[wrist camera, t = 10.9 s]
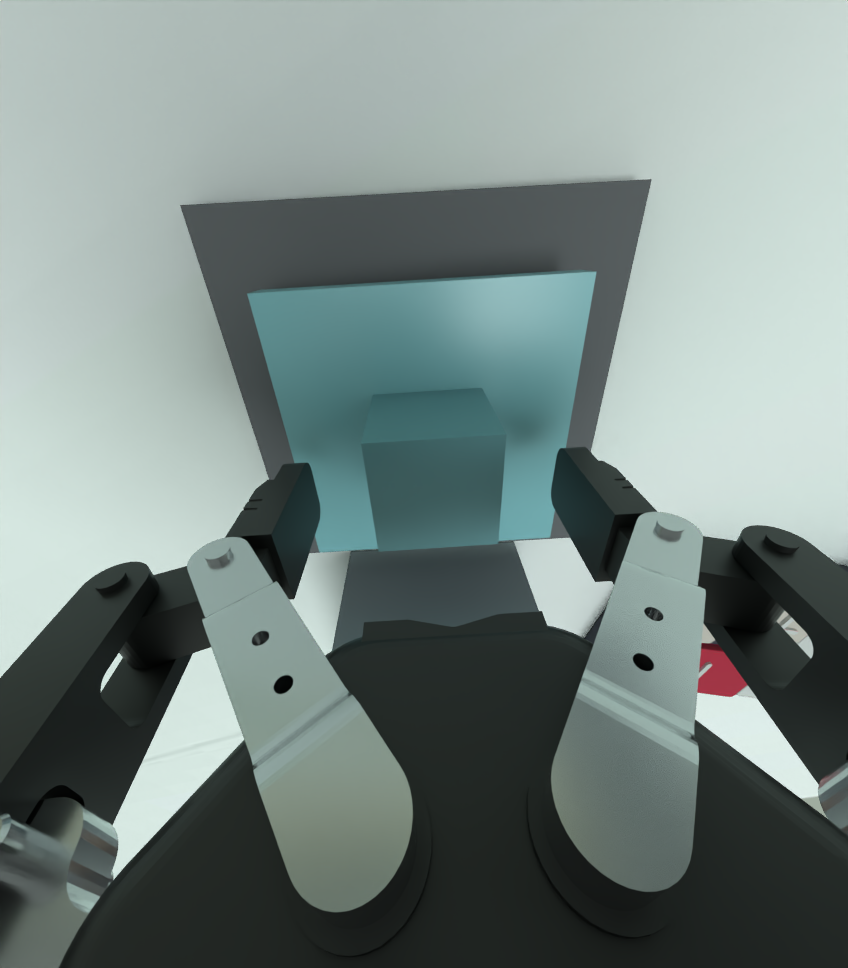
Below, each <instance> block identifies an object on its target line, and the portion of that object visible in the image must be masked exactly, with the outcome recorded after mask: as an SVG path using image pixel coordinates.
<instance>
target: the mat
mask: <svg viewBox="0 0 848 968" xmlns="http://www.w3.org/2000/svg"><path fill="white" fill-rule="evenodd" d="M650 184H651V179H648V180H630V181H611V182H593V183H575V184H557V185H539V186H521V187H503V188H485V189H467V190H449V191H431V192H413V193H395V194H376V195H358V196H340V197H322V198H304V199H286V200H268V201H250V202H232V203H214V204H196V205H180V206H181V209H182V212H183V215H184V218H185V221H186V224H187V228H188V231H189V234H190V237H191V240H192V243H193V246H194V249H195V252H196V255H197V258H198V261H199V264H200V268H201V271H202V274H203V277H204V280H205V283H206V286H207V289H208V292H209V295H210V298H211V301H212V304H213V308H214V311H215V314H216V317H217V320H218V323H219V326H220V329H221V332H222V335H223V338H224V341H225V344H226V348H227V351H228V354H229V357H230V360H231V363H232V366H233V369H234V372H235V375H236V378H237V381H238V385H239V388H240V391H241V394H242V397H243V400H244V403H245V406H246V409H247V412H248V415H249V418H250V421H251V425H252V428H253V431H254V434H255V437H256V440H257V443H258V446H259V449H260V452H261V455H262V458H263V461H264V465H265V468H266V471H267V474H268V477H269V480H274V479H275V477H276V475H277V474H278V472H279V470H280V468H281V467H282V465H283V464H290V463H294V459H293V456H292V452H291V449H290V445H289V441H288V438H287V434H286V431H285V427H284V424H283V420H282V416H281V413H280V409H279V406H278V402H277V399H276V395H275V391H274V388H273V384H272V381H271V377H270V374H269V370H268V366H267V363H266V359H265V356H264V352H263V348H262V345H261V341H260V338H259V334H258V331H257V327H256V323H255V320H254V316H253V313H252V309H251V306H250V302H249V298H248V295H247V293H251V292H254V291H258V290H266V289H282V288H298V287H314V286H330V285H346V284H362V283H378V282H393V281H409V280H425V279H441V278H457V277H473V276H489V275H505V274H521V273H536V272H552V271H568V270H588V271H596V278H595V284H594V289H593V295H592V301H591V307H590V312H589V318H588V324H587V329H586V335H585V341H584V347H583V352H582V358H581V364H580V369H579V375H578V381H577V387H576V392H575V398H574V404H573V409H572V415H571V421H570V427H569V432H568V438H567V444H566V448H571V447H586V448H587V449H588V450H589V451H590V452H591V448H592V443H593V439H594V434H595V430H596V425H597V421H598V416H599V412H600V407H601V403H602V398H603V394H604V389H605V385H606V380H607V376H608V372H609V367H610V363H611V358H612V354H613V349H614V345H615V340H616V336H617V331H618V327H619V322H620V318H621V313H622V309H623V304H624V300H625V295H626V291H627V286H628V282H629V278H630V273H631V269H632V264H633V260H634V255H635V251H636V246H637V242H638V237H639V233H640V228H641V224H642V219H643V215H644V210H645V206H646V201H647V197H648V193H649V188H650ZM569 537H570V536H569V534H568V532H567V531H566V529H565V527H564V525H563V524H562V522H561V520H560V518H559V516H558V515H557V513H556V511H555V512H554V518H553V524H552V529H551V535H550V538H536V539H552V538H569ZM520 540H535V539H520ZM505 541H519V540H505ZM498 542H502V541H498ZM365 550H369V549H365ZM350 551H353V550H350ZM334 552H336V551H334ZM309 553H320V552H319V549H318V545H317V542H316V538H315V537H314V540H313V543H312V546H311V549H310V552H309Z"/></svg>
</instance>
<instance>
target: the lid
mask: <svg viewBox="0 0 848 968" xmlns="http://www.w3.org/2000/svg"><path fill="white" fill-rule="evenodd" d="M595 278H596V271H588V270H568V271H552V272H536V273H521V274H505V275H489V276H473V277H457V278H441V279H425V280H409V281H393V282H378V283H362V284H346V285H330V286H314V287H298V288H282V289H266V290H258V291H254V292H251V293H247V295H248V298H249V302H250V306H251V309H252V313H253V316H254V320H255V323H256V327H257V331H258V334H259V338H260V341H261V345H262V348H263V352H264V356H265V359H266V363H267V366H268V370H269V374H270V377H271V381H272V384H273V388H274V391H275V395H276V399H277V402H278V406H279V409H280V413H281V416H282V420H283V424H284V427H285V431H286V434H287V438H288V441H289V445H290V449H291V452H292V456H293V459H294V463H309V465H310V467H311V470H312V474H313V478H314V482H315V486H316V490H317V494H318V498H319V502H320V521H319V524H318V527H317V530H316V534H315V538H316V542H317V545H318V549H319V552H334V551H350V550H365V549H378V552H382V551H397V550H413V549H428V548H444V547H459V546H475V545H490V544H498V541H505V540H520V539H536V538H550V535H551V529H552V524H553V518H554V512H555V509H554V507H553V505H552V500H551V487H552V481H553V475H554V469H555V463H556V457H557V453H558V451H559V449H560V448H566V444H567V438H568V432H569V427H570V421H571V415H572V409H573V404H574V398H575V392H576V387H577V381H578V375H579V369H580V364H581V358H582V352H583V347H584V341H585V335H586V329H587V324H588V318H589V312H590V307H591V301H592V295H593V289H594V284H595Z"/></svg>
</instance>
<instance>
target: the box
mask: <svg viewBox="0 0 848 968" xmlns="http://www.w3.org/2000/svg"><path fill="white" fill-rule="evenodd" d="M523 612H539V610H538V608H537V605H536V602H535V599H534V597H533V594H532V591H531V588H530V585H529V583H528V580H527V577H526V574H525V572H524V569H523V566H522V563H521V560H520V558H519V555H518V552H517V549H516V547H515V544H514V542H504V543H498V544H490V545H475V546H459V547H444V548H428V549H413V550H397V551H382V552H378V550H371V551H354V552H351V553H350V559H349V564H348V569H347V575H346V580H345V585H344V590H343V596H342V601H341V606H340V612H339V617H338V622H337V627H336V633H335V638H334V643H333V649H332V651H333V650H334V649H336V648H337V647H339V646H341V645H343V644H345V643H347V642H349V641H352V640H354V639H356V638H360V637H362V635H363V627H364V622H375V621H392V620H414V621H420V622H426V623H432V624H438V625H444V626H450V627H456V626H460V625H464V624H467V623H470V622H473V621H477V620H480V619H483V618H487V617H490V616H493V615H497V614H506V613H523Z"/></svg>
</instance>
